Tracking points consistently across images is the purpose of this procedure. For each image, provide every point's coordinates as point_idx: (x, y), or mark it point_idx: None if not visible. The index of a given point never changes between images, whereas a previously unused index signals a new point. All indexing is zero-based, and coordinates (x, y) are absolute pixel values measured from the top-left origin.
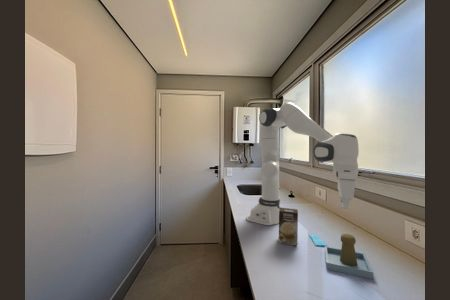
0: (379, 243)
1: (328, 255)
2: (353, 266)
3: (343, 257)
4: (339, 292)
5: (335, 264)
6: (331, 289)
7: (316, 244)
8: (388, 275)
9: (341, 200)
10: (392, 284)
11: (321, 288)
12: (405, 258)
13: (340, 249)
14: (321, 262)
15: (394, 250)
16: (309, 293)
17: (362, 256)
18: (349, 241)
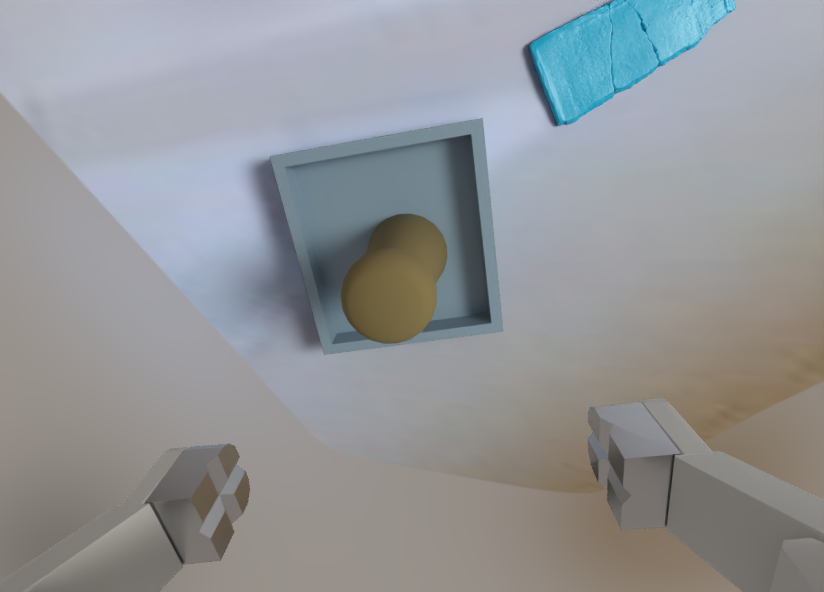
0: (736, 390)
1: (418, 149)
2: None
3: (372, 239)
4: (142, 226)
5: (283, 203)
6: (135, 195)
7: (542, 48)
8: (401, 390)
9: (613, 437)
10: (341, 394)
11: (108, 155)
12: None
13: (482, 216)
14: (330, 120)
15: None
16: (32, 112)
17: (489, 316)
18: (342, 308)
